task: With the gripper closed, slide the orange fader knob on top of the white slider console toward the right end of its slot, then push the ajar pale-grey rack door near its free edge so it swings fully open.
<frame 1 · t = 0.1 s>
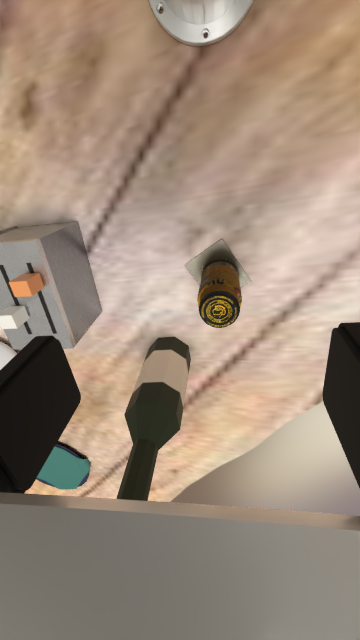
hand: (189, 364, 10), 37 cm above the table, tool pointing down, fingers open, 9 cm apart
fader b: (13, 317, 39), point 14 cm above the table, slide at 1.5 cm
fader a: (27, 284, 36), point 14 cm above the table, slide at -3.0 cm
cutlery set: (40, 451, 79), on the table
condiment: (217, 272, 47), on the table
white slider console: (64, 271, 50), on the table
wine bottle: (170, 353, 56), on the table
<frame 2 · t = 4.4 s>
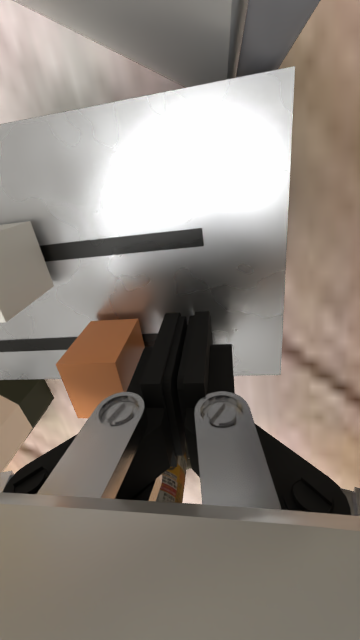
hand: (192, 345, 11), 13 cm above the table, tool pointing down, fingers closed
fader a: (109, 366, 11), point 14 cm above the table, slide at -1.5 cm, touching gripper
condiment: (169, 448, 34), on the table
white slider console: (142, 219, 21), on the table
wine bottle: (19, 387, 32), on the table
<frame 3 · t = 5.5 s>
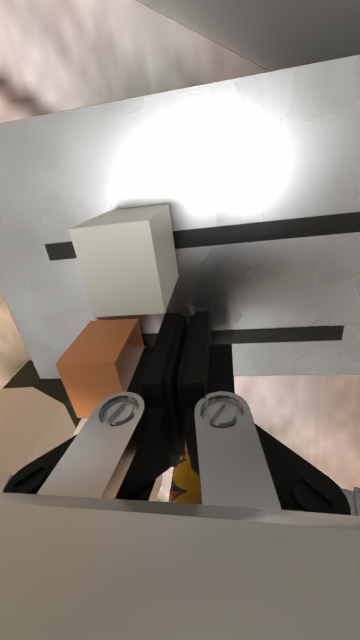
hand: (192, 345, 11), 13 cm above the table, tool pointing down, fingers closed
fader b: (133, 257, 8), point 14 cm above the table, slide at 1.5 cm
fader a: (109, 365, 11), point 14 cm above the table, slide at 3.3 cm, touching gripper
condiment: (208, 449, 34), on the table
white slider console: (207, 212, 20), on the table
wine bottle: (57, 386, 32), on the table
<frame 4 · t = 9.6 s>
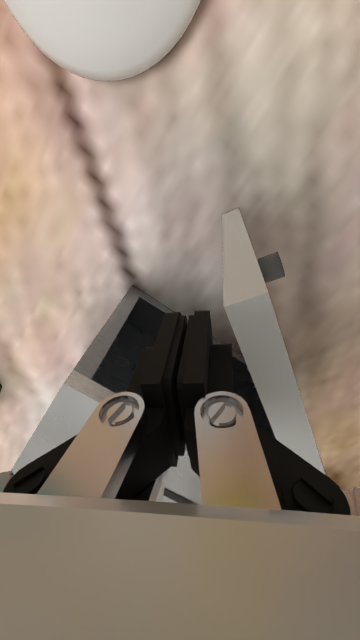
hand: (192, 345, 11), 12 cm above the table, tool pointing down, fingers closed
fader b: (132, 510, 15), point 14 cm above the table, slide at 1.5 cm
white slider console: (179, 369, 28), on the table
rack door: (283, 357, 17), point 7 cm above the table, hinge at 33.1°, touching gripper
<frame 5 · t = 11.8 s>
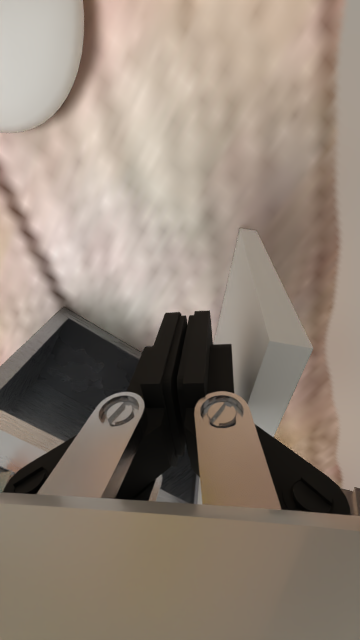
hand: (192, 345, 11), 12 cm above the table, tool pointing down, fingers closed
white slider console: (116, 382, 29), on the table
rack door: (234, 380, 18), point 7 cm above the table, hinge at 64.2°, touching gripper
flower in vase: (6, 0, 16), on the table
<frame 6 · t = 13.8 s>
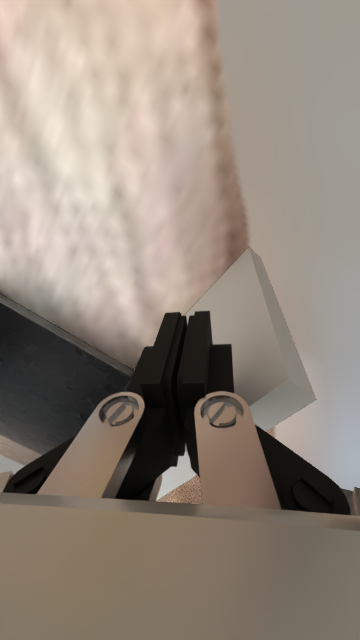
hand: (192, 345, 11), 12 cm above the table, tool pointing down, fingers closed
white slider console: (53, 366, 29), on the table
rack door: (183, 379, 19), point 7 cm above the table, hinge at 94.6°, touching gripper
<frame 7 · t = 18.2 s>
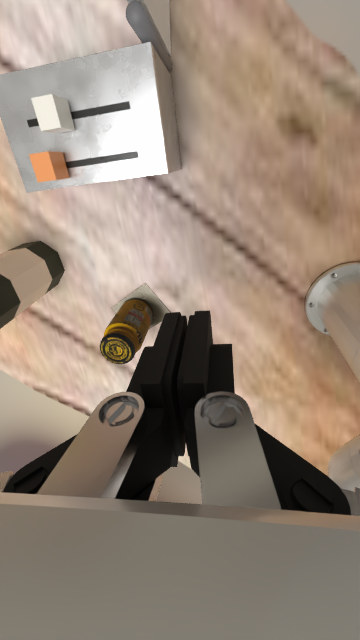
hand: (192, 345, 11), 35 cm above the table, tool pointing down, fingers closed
fader b: (54, 115, 26), point 14 cm above the table, slide at 1.5 cm
fader a: (50, 166, 28), point 14 cm above the table, slide at 3.4 cm
condiment: (141, 310, 52), on the table
white slider console: (118, 135, 38), on the table
wine bottle: (41, 264, 49), on the table
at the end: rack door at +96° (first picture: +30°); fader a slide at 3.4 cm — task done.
